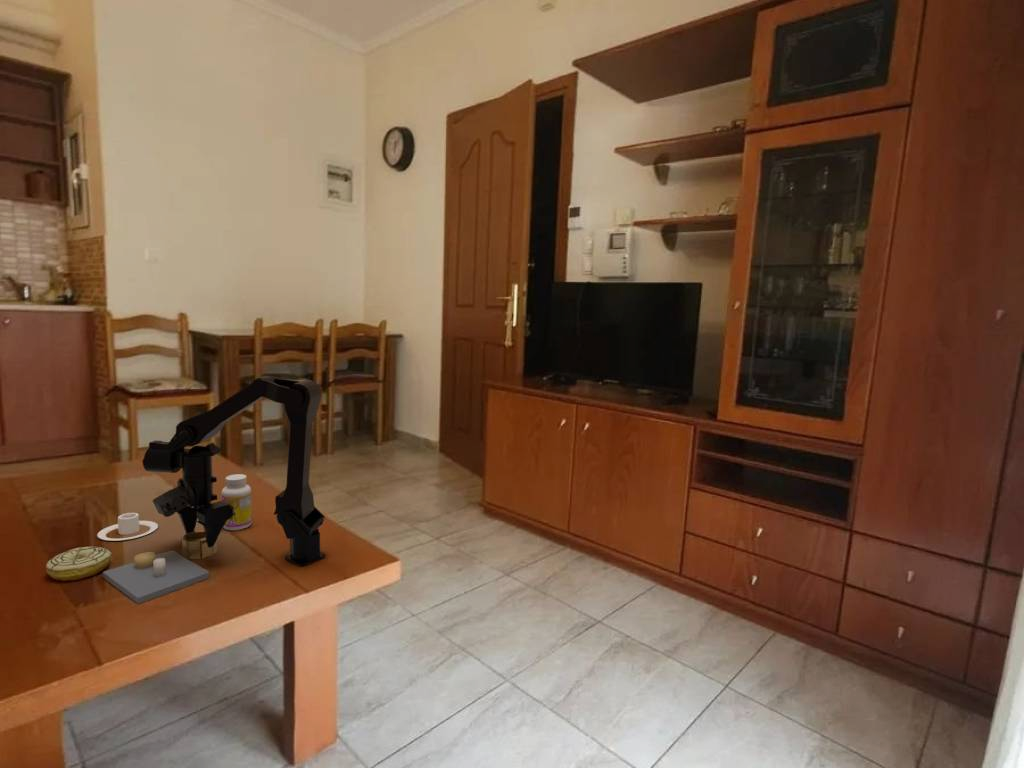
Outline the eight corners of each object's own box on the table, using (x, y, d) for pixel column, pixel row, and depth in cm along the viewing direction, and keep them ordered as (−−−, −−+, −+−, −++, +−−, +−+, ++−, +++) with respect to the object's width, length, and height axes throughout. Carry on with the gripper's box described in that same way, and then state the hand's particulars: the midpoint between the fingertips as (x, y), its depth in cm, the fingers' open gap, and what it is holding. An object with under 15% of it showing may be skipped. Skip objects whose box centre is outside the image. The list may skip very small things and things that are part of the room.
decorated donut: (116, 556, 121) (115, 539, 120) (106, 578, 112) (105, 560, 111) (55, 564, 116) (54, 547, 116) (40, 587, 107) (39, 569, 106)
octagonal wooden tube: (221, 551, 125) (221, 534, 124) (192, 561, 119) (191, 544, 119) (207, 543, 128) (206, 527, 128) (178, 553, 123) (177, 536, 122)
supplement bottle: (216, 527, 137) (214, 477, 136) (240, 519, 143) (239, 471, 142) (234, 533, 134) (232, 482, 133) (257, 524, 140) (256, 475, 139)
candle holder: (127, 546, 126) (126, 528, 126) (84, 539, 128) (83, 522, 128) (169, 526, 138) (169, 510, 137) (129, 521, 140) (128, 504, 140)
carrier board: (209, 577, 113) (208, 558, 112) (138, 604, 102) (137, 582, 102) (172, 555, 122) (171, 537, 121) (103, 577, 111) (101, 557, 111)
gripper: (137, 473, 120) (141, 541, 122) (179, 492, 109) (182, 566, 112) (191, 462, 129) (193, 526, 131) (234, 479, 119) (236, 548, 121)
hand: (200, 541), depth 123 cm, fingers open, 9 cm apart
